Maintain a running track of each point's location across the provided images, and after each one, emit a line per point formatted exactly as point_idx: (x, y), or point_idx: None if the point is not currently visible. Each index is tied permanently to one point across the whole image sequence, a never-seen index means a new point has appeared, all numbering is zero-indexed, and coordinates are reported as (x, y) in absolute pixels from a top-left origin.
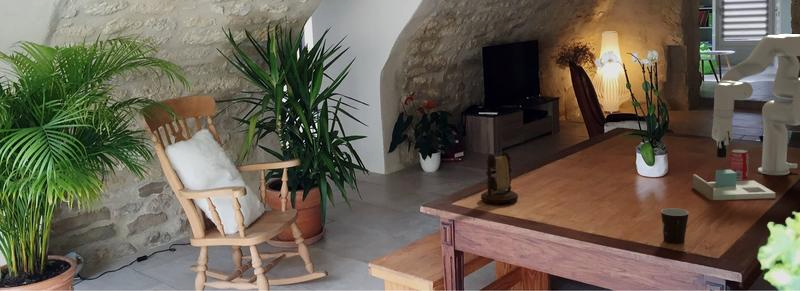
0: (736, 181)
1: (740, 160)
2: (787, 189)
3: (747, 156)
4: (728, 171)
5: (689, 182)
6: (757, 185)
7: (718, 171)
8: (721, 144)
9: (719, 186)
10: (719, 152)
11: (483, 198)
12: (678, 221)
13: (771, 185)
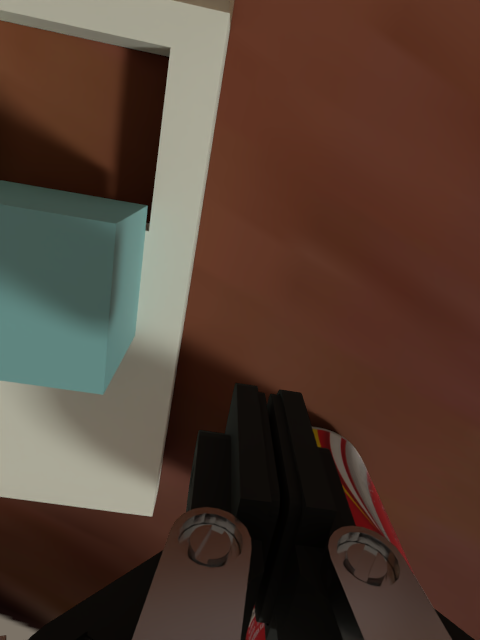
0: (157, 399)
1: (254, 606)
2: (14, 596)
3: None
4: (14, 327)
5: (413, 82)
6: (4, 468)
7: (38, 215)
8: (136, 632)
9: None
10: (235, 447)
11: None
12: None
13: (125, 571)
